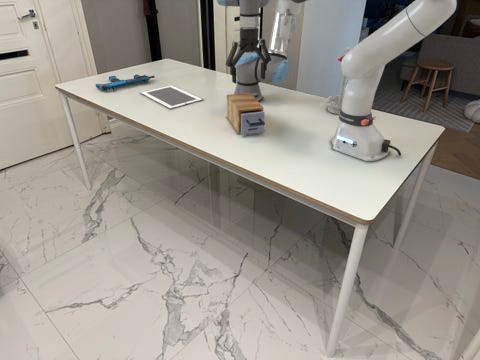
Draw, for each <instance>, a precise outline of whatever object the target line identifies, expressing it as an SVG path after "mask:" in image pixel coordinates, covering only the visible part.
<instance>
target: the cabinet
mask: <svg viewBox="0 0 480 360" xmlns="http://www.w3.org/2000/svg"><path fill="white" fill-rule="evenodd" d="M255 110H260V112H263V111H264V106H263V105H262V104H261V103H260V101H257V100H256V99H255V98H254V97H253V96H252V95H251V94H250V93H241V94H234V93H231V94H226V116H227V119H228V121H229V122H230V124H231V125H232V126H233V128H234V130H235V131H236V132H237V134H238V135H242V134H241V112H246V111H255Z"/></svg>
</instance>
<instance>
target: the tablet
mask: <svg viewBox="0 0 480 360" xmlns="http://www.w3.org/2000/svg"><path fill="white" fill-rule="evenodd" d="M140 94H142V95H143V96H145V97H147V98H149V99H150V100H152V101H155V102H156V103H158V104H160V105H161V106H163V107H166V108H167V109H170V110H172V109H177V108H178V107H179V108H180V107H183V106H186V105H190V104H194V103H197V102H200V101H203V100H204V99H203V98H200V97H199V96H196V95H194V94H192V93H190V92H188V91H186V90H184V89H181V88H179V87H177V86H174V85H167V86H163V87H159V88H154V89H150V90H146V91H142V92H140Z"/></svg>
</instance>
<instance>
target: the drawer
mask: <svg viewBox="0 0 480 360" xmlns="http://www.w3.org/2000/svg"><path fill="white" fill-rule="evenodd" d="M265 124H266V123H265V111H264V110H263V112H260V110H255V111H246V112H241V134H240V135H242V136H244V135H251V134H259V133H264V132H265V126H266V125H265Z"/></svg>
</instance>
